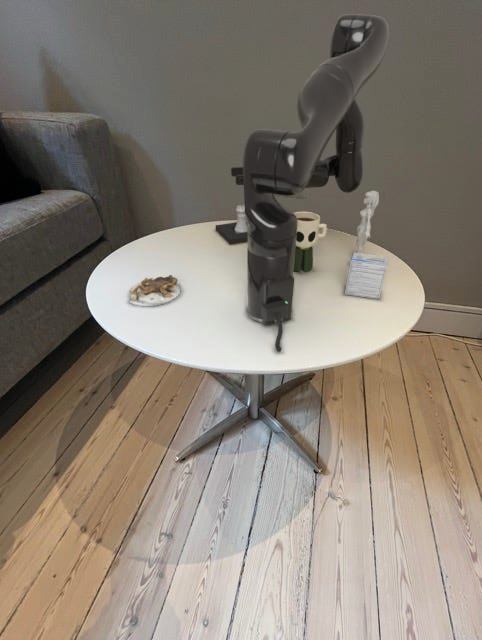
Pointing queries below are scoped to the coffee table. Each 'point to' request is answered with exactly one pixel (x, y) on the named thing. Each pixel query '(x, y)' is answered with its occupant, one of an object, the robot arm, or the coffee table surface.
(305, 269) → the character mug
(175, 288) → the frog figurine
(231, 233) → the socket pad
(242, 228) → the rook chess piece
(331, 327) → the coffee table surface
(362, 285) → the medicine box
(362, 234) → the human figurine
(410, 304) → the coffee table surface
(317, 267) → the coffee table surface
